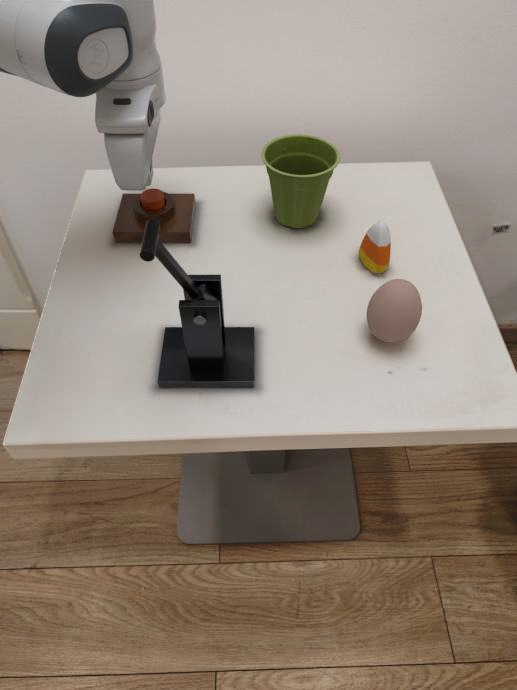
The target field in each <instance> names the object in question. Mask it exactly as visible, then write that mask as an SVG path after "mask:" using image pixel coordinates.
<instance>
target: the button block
mask: <svg viewBox="0 0 517 690" xmlns="http://www.w3.org/2000/svg"><path fill="white" fill-rule="evenodd" d="M161 191H162V192H163V194H164V200H165V205H164V207H163V208H162V209H159V210H156V211H147V210H145V209H144V208H143V207H142V202H141V197H140V195H141V193H142V192H139V193H122V194H121V199H120V203H119V206H118V210H117V214H116V218H115V222H114V224H113V225H114V226H113V229H112V235H113V239H114V242H115V244H142V241H143V236H144V231H145V226H146V222H147V220H148V219H151V218H153V219H156V220H158V221H159V223H160V230H159V235H158V239H159V240H160V242H161V243H162V244H191V243H192V239H193V231H194V222H195V214H196V206H197V203H196V195H195V192H194V193H192V192H191V193H189V192H188V193H185V192H184V193H180V192H179V193H173V192H171V193H169V192H166V191H163V190H161Z"/></svg>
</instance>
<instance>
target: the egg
mask: <svg viewBox="0 0 517 690" xmlns="http://www.w3.org/2000/svg"><path fill="white" fill-rule="evenodd" d="M422 314H423V303H422V298H421V294H420V292H419V290H418V288H417V286H415V285H414V283H412V282H411V281H408V280H407V279H404V278H393V279H390V280H388V281H386V282H384V283H382V285H380V286H378V288H377V289H376V290H375V292H374V293H372V295H371V297H370V299H369V301H368V305H367V308H366V322H367V326H368V329H369V330H370V332H371V333H372V334H373V336H374V337H375V338H377V340H379V341H382V342H386V343H398V342H402V341H404V340H406V339H407V338H409V337H410V336H411V335H412V334H413V333H414V332H415V331H416V329H417V327H418V325H419V324H420V321H421V319H422Z"/></svg>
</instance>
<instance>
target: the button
mask: <svg viewBox="0 0 517 690" xmlns="http://www.w3.org/2000/svg"><path fill="white" fill-rule="evenodd" d="M162 191H163V190H161V189H158V188H148V189H144V190H142V192H140V193H141V195H140V197H141V202H142V207H143V208H144V209H145V210H147V211H156V210H159V209H162V208H163V207H164V205H165V200H164V194H163V192H164V191H163V192H162Z"/></svg>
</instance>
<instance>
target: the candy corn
mask: <svg viewBox="0 0 517 690" xmlns="http://www.w3.org/2000/svg"><path fill="white" fill-rule="evenodd" d="M391 246H392V239H391V231H390V228H389V226H388V224H387V223H385V222H384V221H383V220H379V221H377V222H375V223H373V224H372V225H371V226H370V227H369V228H368V230H367V232H366V233H365V235H364V237H362V240H361V243H360V246H359V248H358V257H359V259H360V261H361V263H362V265H363V267H365V268H366V269H367V270H369V272H372V273H373V274H383V273H384V272H385V271H386V270H387V269H388V268H389V267H390V261H391V250H392V249H391Z"/></svg>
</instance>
